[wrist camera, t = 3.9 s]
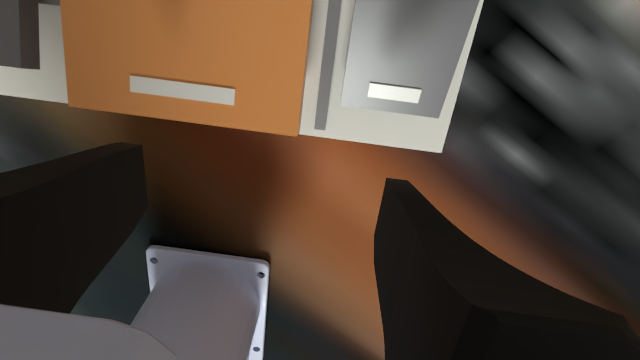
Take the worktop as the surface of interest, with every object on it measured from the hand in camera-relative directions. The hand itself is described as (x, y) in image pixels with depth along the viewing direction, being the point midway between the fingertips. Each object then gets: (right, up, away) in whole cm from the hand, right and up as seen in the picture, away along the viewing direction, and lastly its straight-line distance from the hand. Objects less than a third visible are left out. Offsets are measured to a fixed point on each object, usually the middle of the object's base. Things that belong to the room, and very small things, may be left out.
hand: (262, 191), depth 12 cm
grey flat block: (+5, +5, +3) cm, 8 cm away
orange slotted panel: (-3, +7, +3) cm, 8 cm away
